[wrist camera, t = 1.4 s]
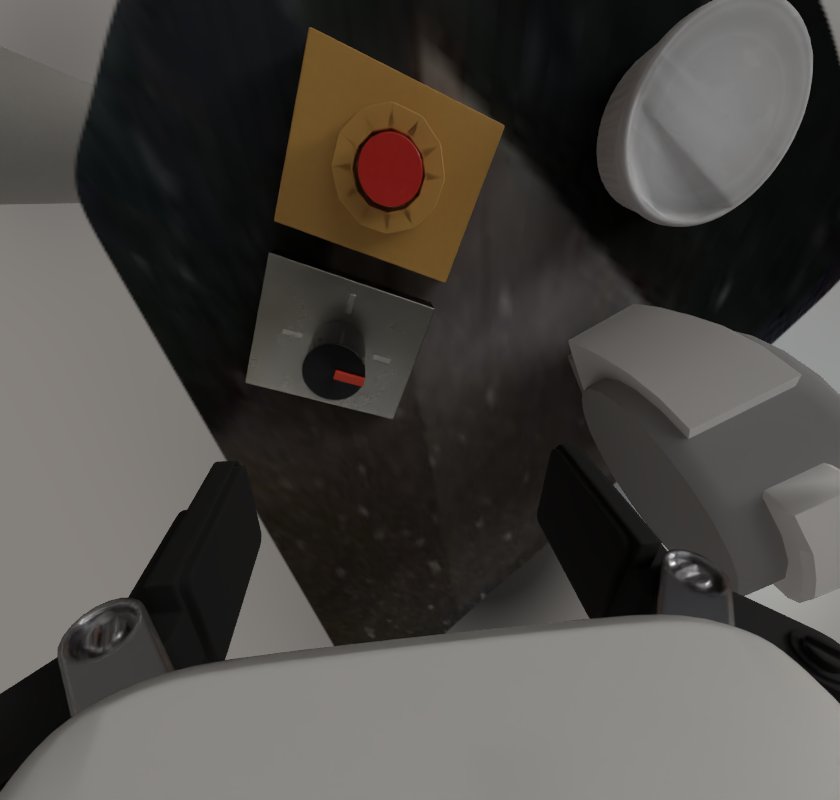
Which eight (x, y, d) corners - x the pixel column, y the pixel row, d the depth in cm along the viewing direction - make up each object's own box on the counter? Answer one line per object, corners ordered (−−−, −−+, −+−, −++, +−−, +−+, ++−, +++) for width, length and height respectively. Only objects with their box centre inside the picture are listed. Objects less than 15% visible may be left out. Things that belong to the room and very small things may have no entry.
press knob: (350, 193, 23) (349, 192, 21) (368, 124, 21) (368, 118, 20) (407, 215, 24) (410, 217, 22) (427, 151, 22) (432, 148, 21)
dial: (306, 362, 29) (294, 394, 24) (318, 313, 27) (308, 337, 23) (357, 376, 30) (355, 409, 25) (371, 330, 29) (373, 355, 24)
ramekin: (564, 219, 29) (602, 223, 24) (603, 18, 23) (662, -26, 19) (697, 225, 30) (758, 230, 25) (763, 37, 25) (854, 0, 20)
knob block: (280, 219, 26) (267, 222, 23) (313, 40, 22) (304, 11, 19) (440, 277, 29) (450, 288, 26) (494, 130, 25) (515, 120, 22)
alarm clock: (669, 431, 40) (914, 619, 22) (593, 469, 41) (769, 677, 23) (628, 278, 31) (972, 382, 14) (535, 330, 32) (740, 490, 15)
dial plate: (251, 372, 31) (244, 383, 29) (274, 248, 27) (267, 252, 25) (391, 408, 34) (393, 420, 32) (431, 302, 30) (435, 309, 28)
